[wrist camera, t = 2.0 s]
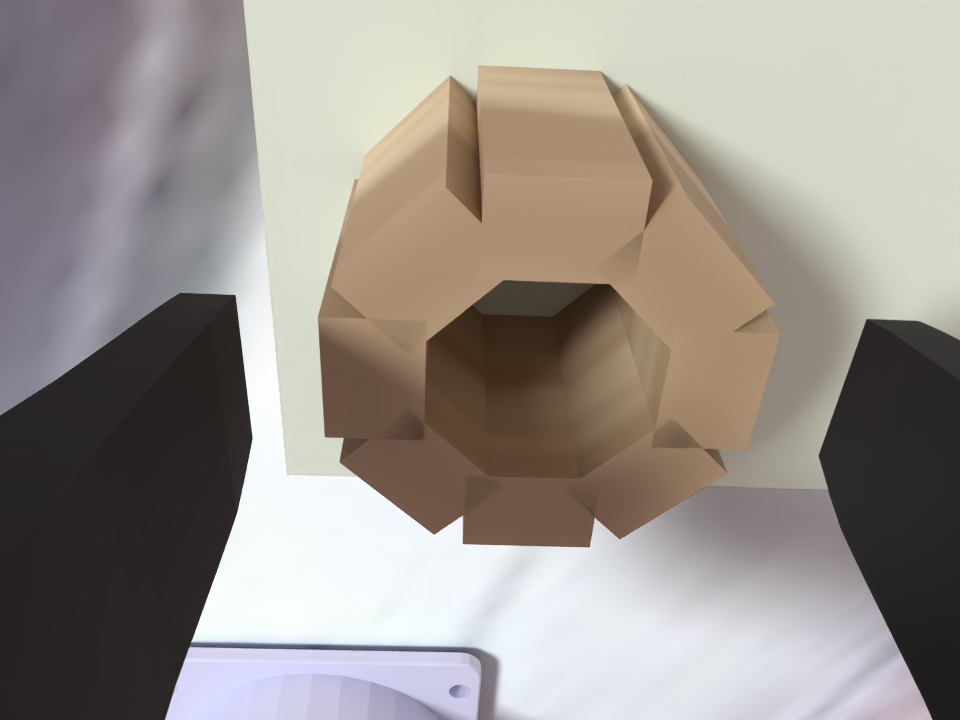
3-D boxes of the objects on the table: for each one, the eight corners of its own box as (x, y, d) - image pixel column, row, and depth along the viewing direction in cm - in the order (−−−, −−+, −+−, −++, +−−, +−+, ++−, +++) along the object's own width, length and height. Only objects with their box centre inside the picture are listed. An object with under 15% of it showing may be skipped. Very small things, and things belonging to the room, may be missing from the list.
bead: (661, 380, 15) (718, 550, 12) (360, 370, 15) (330, 541, 12) (723, 76, 12) (823, 188, 9) (351, 58, 12) (308, 165, 9)
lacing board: (1131, 459, 18) (1394, 725, 13) (297, 434, 17) (229, 707, 12) (1461, -83, 12) (2151, 10, 7) (250, -156, 12) (87, -106, 7)
